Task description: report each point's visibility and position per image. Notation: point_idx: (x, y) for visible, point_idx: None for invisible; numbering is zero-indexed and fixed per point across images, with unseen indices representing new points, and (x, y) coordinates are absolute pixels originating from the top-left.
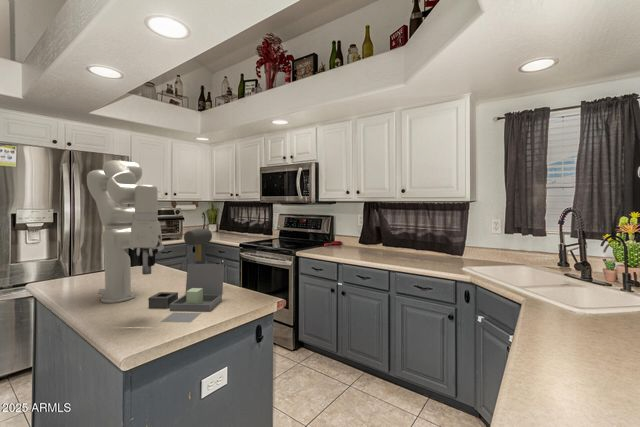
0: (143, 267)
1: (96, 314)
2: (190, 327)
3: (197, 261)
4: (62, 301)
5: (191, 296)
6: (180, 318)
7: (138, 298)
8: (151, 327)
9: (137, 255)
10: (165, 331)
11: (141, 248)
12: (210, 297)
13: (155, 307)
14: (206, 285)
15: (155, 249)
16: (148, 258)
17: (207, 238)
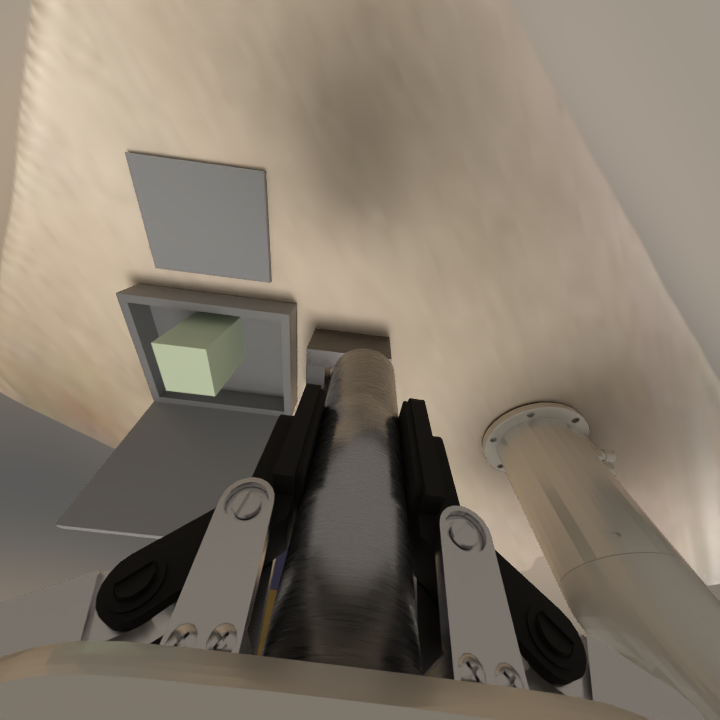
0: (375, 385)
1: (567, 296)
2: (97, 98)
3: (274, 588)
4: (714, 429)
5: (193, 336)
6: (199, 207)
7: (465, 434)
8: (274, 111)
9: (469, 510)
10: (177, 42)
11: (437, 664)
12: (197, 395)
13: (363, 337)
14: (198, 437)
15: (122, 605)
16: (300, 447)
17: None
